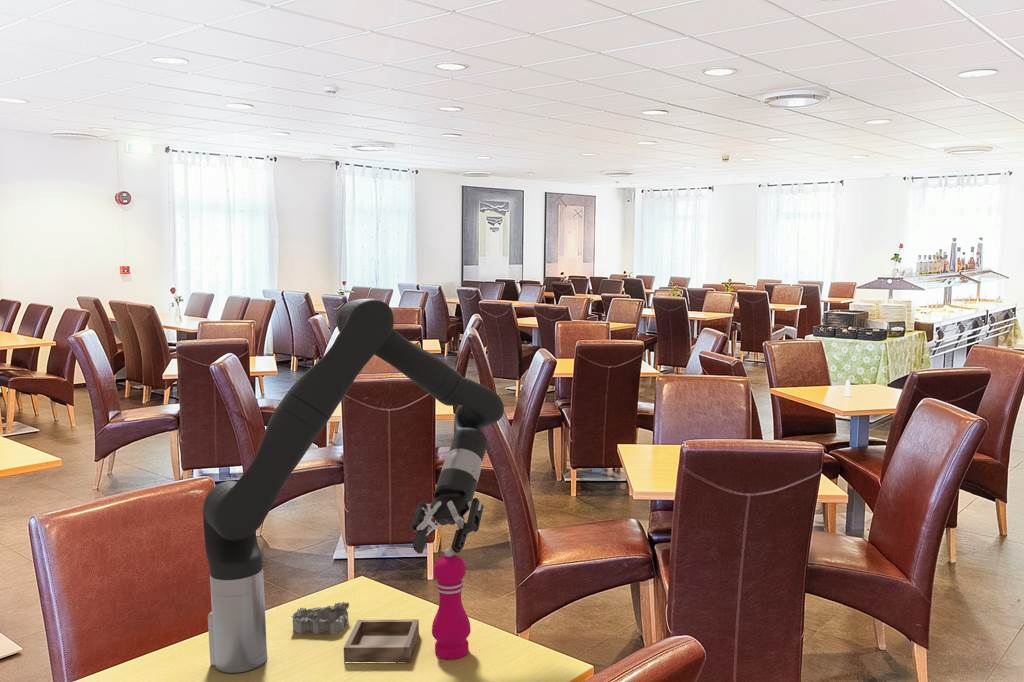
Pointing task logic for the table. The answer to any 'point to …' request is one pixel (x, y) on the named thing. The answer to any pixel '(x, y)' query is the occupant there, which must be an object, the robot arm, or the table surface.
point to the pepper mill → (450, 608)
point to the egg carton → (321, 619)
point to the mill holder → (382, 641)
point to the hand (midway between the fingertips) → (436, 551)
